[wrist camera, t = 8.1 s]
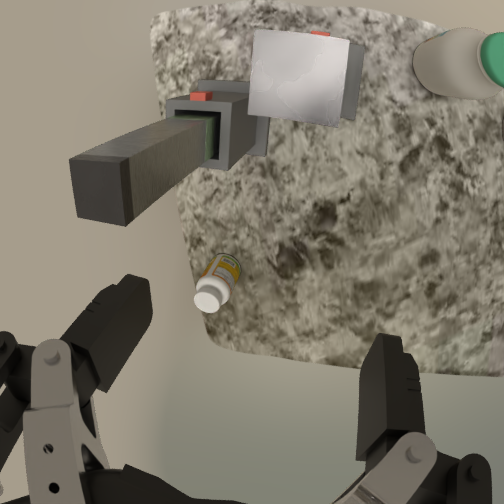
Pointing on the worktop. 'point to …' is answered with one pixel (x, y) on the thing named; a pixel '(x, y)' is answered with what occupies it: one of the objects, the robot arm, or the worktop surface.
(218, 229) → the worktop surface
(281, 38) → the column
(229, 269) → the supplement bottle
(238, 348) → the worktop surface
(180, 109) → the stand
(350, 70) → the stand
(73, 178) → the column
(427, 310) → the worktop surface
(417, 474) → the robot arm
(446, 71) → the milk bottle
